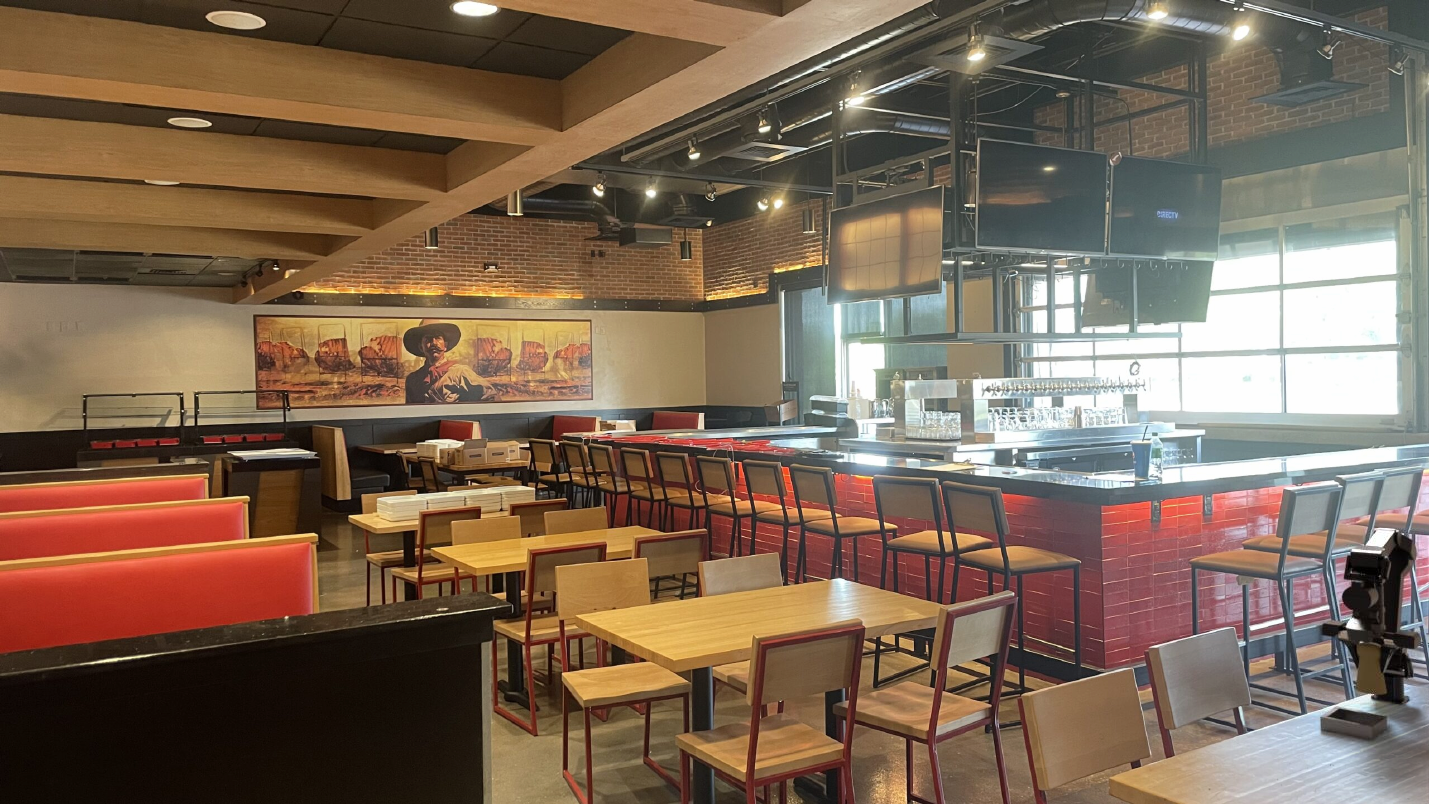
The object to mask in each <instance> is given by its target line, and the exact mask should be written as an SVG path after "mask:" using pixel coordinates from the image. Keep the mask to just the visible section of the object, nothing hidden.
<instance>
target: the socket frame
mask: <svg viewBox="0 0 1429 804" xmlns="http://www.w3.org/2000/svg"><path fill="white" fill-rule="evenodd" d="M1319 719H1320V720H1319V721H1320V722H1319V723H1320V730H1321V731H1323V732H1329V733H1332V734H1336V735H1342V736H1346V737H1350V738H1356V739H1359V740H1363V741H1369V742H1373V741H1375V740H1376V739H1378V738H1379V737H1380V736H1381V735H1382V734H1384V733H1386V731H1388V717H1387V716H1386V715H1380V714H1375V713H1371V712H1367V711H1363V710H1357V709H1352V708H1348V707H1347V708H1346V707H1342V706H1336V705H1335V706H1334V707H1333V708H1331V709H1330V710H1328V711H1327V712H1325V713H1324V714H1322V715H1321V716H1320V717H1319Z"/></svg>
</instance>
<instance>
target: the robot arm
mask: <svg viewBox="0 0 1429 804" xmlns="http://www.w3.org/2000/svg"><path fill="white" fill-rule="evenodd" d="M1417 553H1418V552H1417V547H1416V544H1415V542H1414V540H1413V539H1411V538H1409V537H1408V536H1406V535H1404V534H1402V532H1401V530H1399V529H1397V528H1389V527H1388V528H1387V527H1378V528H1374V530H1373V535H1372V536H1371V537H1370V538H1369V540H1368V541H1367V542H1366V544H1365V545H1361V546H1355V547H1353V548H1352V549H1351V551H1350V552H1349V553H1347V555H1346V562H1345V568H1344V572H1343V580H1344V581H1346V580H1347V581H1350V582H1351V584H1350V586H1348V587H1347V588H1345V589H1344V590H1343V592H1342V594H1341V600H1342V602H1343V605H1344V606H1345V607H1346V608H1347V609H1349V610H1350V611H1352V615H1351V617H1350V618H1349V620H1348V622H1347V621H1341V620H1333V619H1329V620H1327V621H1325V622H1323V623H1322V624H1320V629H1319V630H1320V635H1321V636H1324V637H1325V636H1326V637H1330V638H1331V637H1332V638H1335V637H1337V636H1338V637H1337V641H1338V642H1341V643H1343V644H1344V646H1345V647H1346V649H1347V650H1348V652H1349V654H1350V655H1351V658H1352V660H1353V663H1354V665H1355V668H1356V670H1358V665H1359V658H1360V656H1359V655H1358V654H1357V645H1358V644H1359V643H1361V642H1365V643H1370V642H1372V643H1376V644H1379V645H1381V650H1382V655H1381V673H1383V674H1384V679H1385V685H1386V691H1387V693H1386V694H1379V695H1377V694H1374V695H1373V694H1371V695H1370V699H1373V700H1377V701H1383V702H1388V703H1393V704H1399V705H1403V704H1405V703H1406V702H1407V701H1409V700H1410V696H1409V695H1405V679H1407V680H1408V679H1410V678H1411V679H1413V678H1415V672H1414V671H1415V670H1414V665H1413V661H1412V659H1411V657H1410V655H1409V653H1408V649H1410V650H1416V649H1417V648H1418V647H1420V646H1421V645H1422V637H1421V635H1420V633H1419V632H1418V631H1411V630H1404V629H1403V630H1402V629H1401V626H1402V625H1401V624H1402V613H1403V612H1402V611H1403V597H1404V584H1405V577H1406V576H1407V575H1408V574H1409V573H1410V572H1411V571H1412V569H1414V568H1413V567H1414V561H1416V560H1417V558H1418V557H1417V555H1418V554H1417Z"/></svg>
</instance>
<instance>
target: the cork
mask: <svg viewBox="0 0 1429 804" xmlns="http://www.w3.org/2000/svg"><path fill="white" fill-rule="evenodd" d="M1357 654H1358V655H1359V656H1360V658H1359V665H1358V669H1357V673H1356V675H1357V676H1356V682H1355V683H1356V684H1355V690H1356V691H1357V692H1359V693H1363V694H1368V695H1369V694H1370V695H1373V694H1377V695H1379V694H1386V693H1387V691H1386V685H1385V679H1384V674H1383V673H1381V655H1382V650H1381V645H1379V644H1376V643H1372V642H1370V643H1365V642H1363V641H1361V642H1360V643H1359V644H1358V645H1357Z"/></svg>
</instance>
